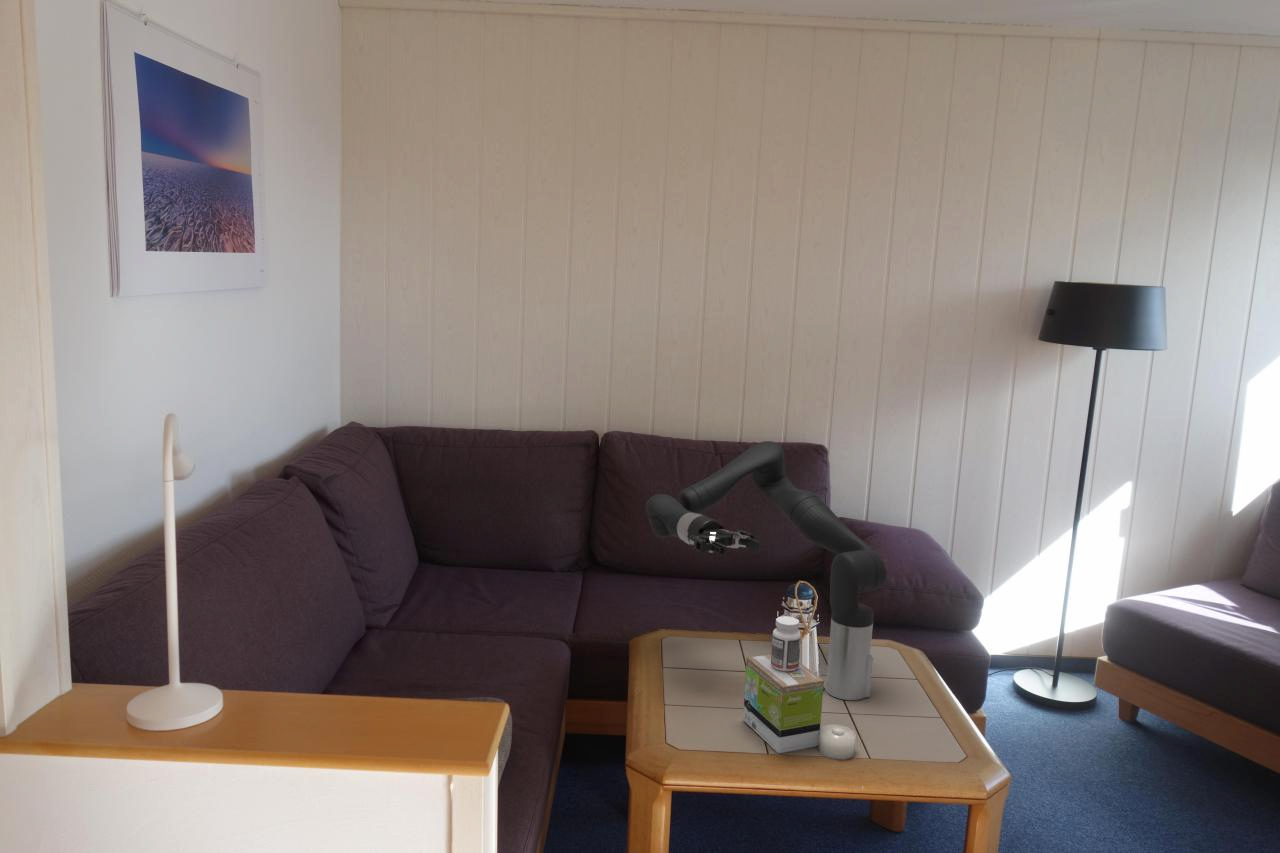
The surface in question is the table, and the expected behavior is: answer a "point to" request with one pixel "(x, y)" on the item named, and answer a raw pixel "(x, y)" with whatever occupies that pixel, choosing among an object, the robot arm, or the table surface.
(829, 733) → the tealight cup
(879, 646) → the table surface
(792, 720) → the tea box
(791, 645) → the pill bottle
